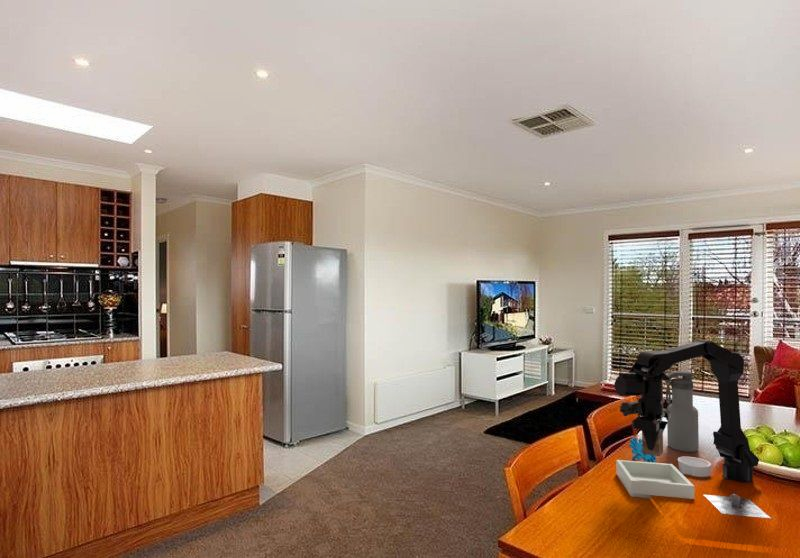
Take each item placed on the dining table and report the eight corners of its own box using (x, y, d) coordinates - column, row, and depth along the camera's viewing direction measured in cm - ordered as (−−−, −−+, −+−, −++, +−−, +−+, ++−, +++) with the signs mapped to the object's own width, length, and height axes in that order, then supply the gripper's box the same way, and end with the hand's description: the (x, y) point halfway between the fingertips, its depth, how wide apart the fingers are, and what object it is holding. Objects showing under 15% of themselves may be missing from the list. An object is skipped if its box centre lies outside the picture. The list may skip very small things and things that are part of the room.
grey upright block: (646, 449, 136) (646, 425, 136) (663, 452, 133) (662, 428, 133) (642, 453, 133) (641, 429, 133) (659, 456, 130) (659, 432, 130)
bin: (672, 478, 139) (672, 464, 139) (694, 502, 123) (694, 486, 123) (616, 474, 142) (616, 459, 142) (631, 496, 127) (631, 480, 127)
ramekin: (700, 483, 136) (700, 468, 136) (671, 472, 144) (671, 458, 144) (717, 477, 140) (717, 463, 140) (688, 467, 148) (687, 454, 148)
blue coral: (643, 464, 146) (626, 436, 153) (630, 473, 149) (614, 444, 156) (665, 464, 150) (648, 436, 157) (653, 472, 154) (636, 444, 161)
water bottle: (668, 450, 164) (667, 373, 164) (664, 442, 173) (663, 369, 173) (701, 454, 160) (700, 375, 160) (695, 445, 169) (694, 371, 169)
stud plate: (747, 502, 124) (747, 487, 124) (771, 522, 113) (771, 505, 113) (703, 498, 126) (702, 483, 126) (722, 517, 115) (721, 501, 115)
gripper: (631, 386, 146) (632, 434, 145) (613, 396, 132) (613, 449, 132) (670, 391, 138) (671, 442, 138) (655, 402, 124) (656, 459, 124)
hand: (652, 447), depth 133 cm, fingers closed on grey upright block, 4 cm apart
